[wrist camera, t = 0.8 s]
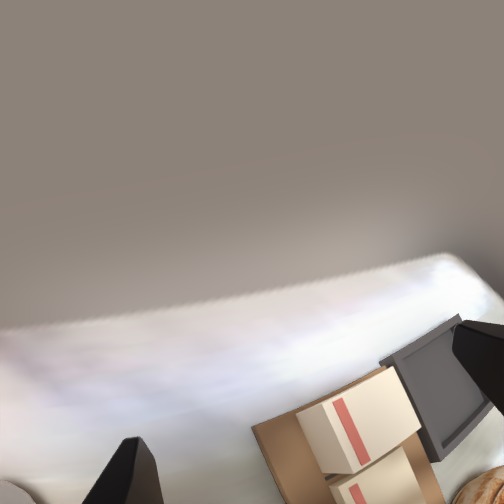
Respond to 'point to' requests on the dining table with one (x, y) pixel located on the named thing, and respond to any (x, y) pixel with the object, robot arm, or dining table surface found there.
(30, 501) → the salt shaker
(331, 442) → the stub
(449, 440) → the tray
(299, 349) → the dining table surface
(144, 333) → the dining table surface
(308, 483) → the board
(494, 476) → the trinket box
